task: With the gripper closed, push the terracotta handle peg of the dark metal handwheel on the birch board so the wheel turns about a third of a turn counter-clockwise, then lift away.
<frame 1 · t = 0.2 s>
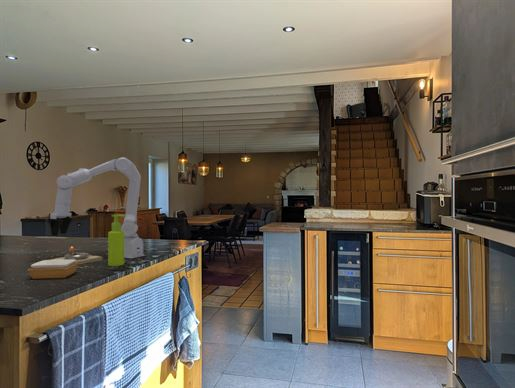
hand: (58, 234, 150), 11 cm above the counter, tool pointing down, fingers open, 7 cm apart
handwheel: (76, 252, 145), point 4 cm above the counter, hinge at 0.0°
soap dispenser: (117, 265, 138), on the counter
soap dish: (54, 277, 120), on the counter
board: (76, 260, 145), on the counter
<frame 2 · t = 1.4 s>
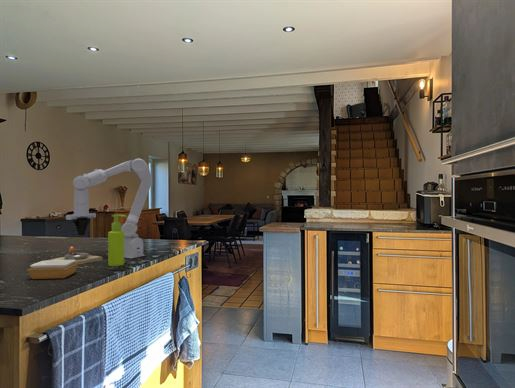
hand: (81, 235, 151), 10 cm above the counter, tool pointing down, fingers closed
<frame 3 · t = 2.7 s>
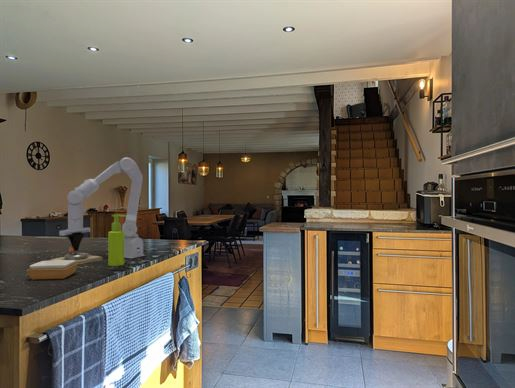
hand: (75, 250, 148), 4 cm above the counter, tool pointing down, fingers closed, pressing on handwheel
handwheel: (76, 252, 145), point 4 cm above the counter, hinge at 0.1°, touching gripper
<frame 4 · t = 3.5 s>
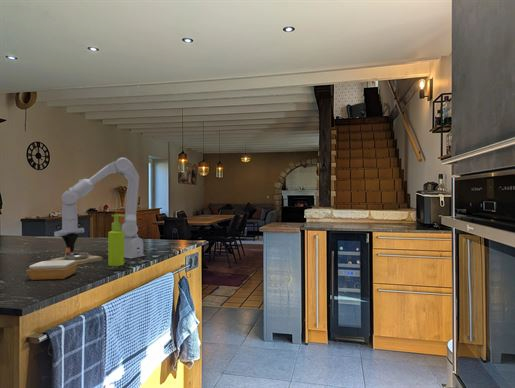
hand: (70, 251, 146), 4 cm above the counter, tool pointing down, fingers closed, pressing on handwheel
handwheel: (76, 252, 145), point 4 cm above the counter, hinge at 39.3°, touching gripper
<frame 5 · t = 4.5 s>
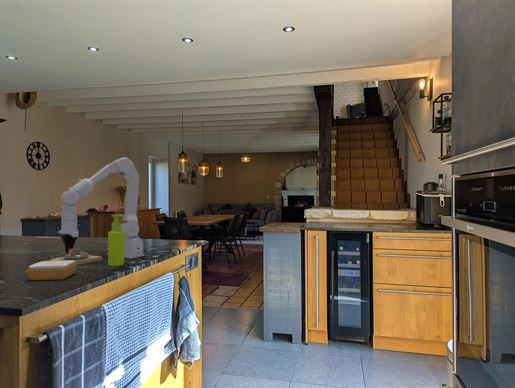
hand: (69, 253, 143), 4 cm above the counter, tool pointing down, fingers closed, pressing on handwheel
handwheel: (76, 252, 145), point 4 cm above the counter, hinge at 107.2°, touching gripper
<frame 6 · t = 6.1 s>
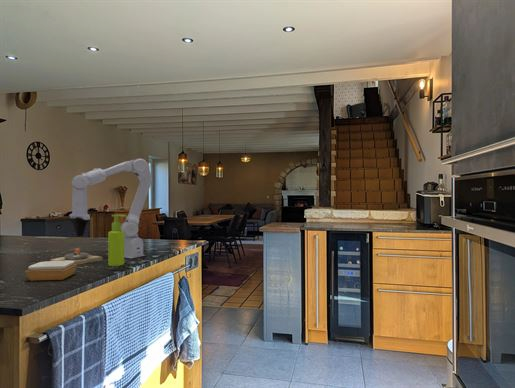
hand: (79, 236, 147), 10 cm above the counter, tool pointing down, fingers closed
handwheel: (76, 252, 145), point 4 cm above the counter, hinge at 151.0°
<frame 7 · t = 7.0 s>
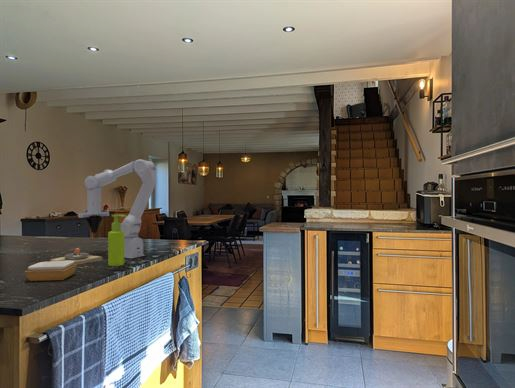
hand: (94, 232, 158), 10 cm above the counter, tool pointing down, fingers closed
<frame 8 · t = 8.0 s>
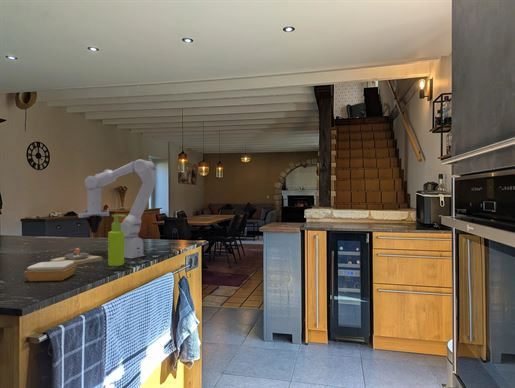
hand: (94, 232, 158), 10 cm above the counter, tool pointing down, fingers closed
at the end: handwheel at +151° (first picture: +0°) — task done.
